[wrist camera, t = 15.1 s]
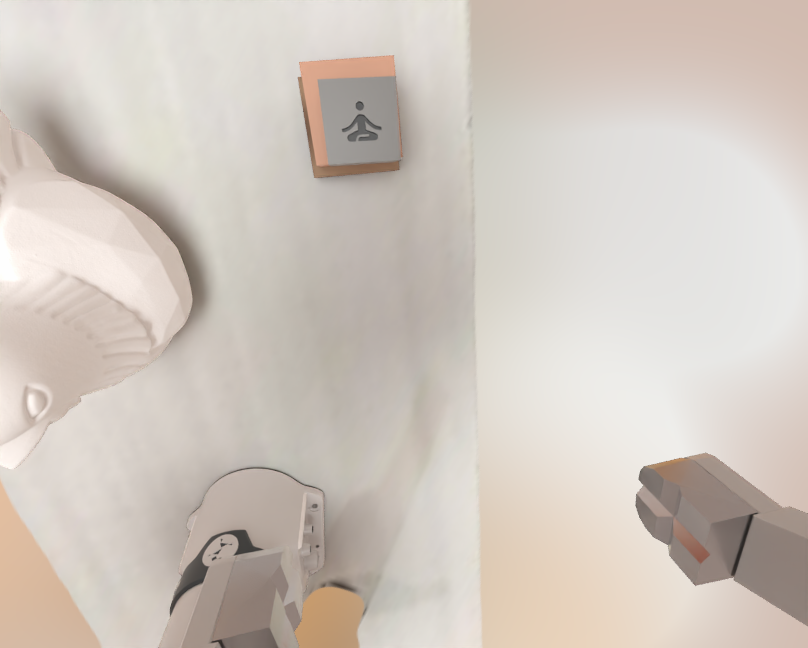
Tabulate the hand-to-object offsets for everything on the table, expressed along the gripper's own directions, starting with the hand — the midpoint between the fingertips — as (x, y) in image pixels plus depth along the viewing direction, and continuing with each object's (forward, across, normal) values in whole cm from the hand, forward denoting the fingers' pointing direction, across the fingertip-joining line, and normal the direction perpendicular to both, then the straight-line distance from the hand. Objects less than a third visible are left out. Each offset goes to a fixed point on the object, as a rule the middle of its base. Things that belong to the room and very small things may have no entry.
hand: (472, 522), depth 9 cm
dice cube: (+28, 0, +11) cm, 30 cm away
